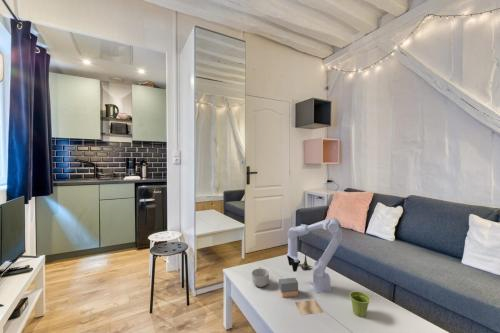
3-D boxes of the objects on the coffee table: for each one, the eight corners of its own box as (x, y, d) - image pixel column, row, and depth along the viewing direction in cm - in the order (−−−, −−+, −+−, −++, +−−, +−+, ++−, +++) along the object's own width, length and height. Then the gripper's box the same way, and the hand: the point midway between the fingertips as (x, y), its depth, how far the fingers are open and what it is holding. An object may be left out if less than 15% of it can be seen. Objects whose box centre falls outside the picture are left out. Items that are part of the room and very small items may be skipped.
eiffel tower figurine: (319, 269, 161) (319, 250, 160) (313, 275, 153) (313, 256, 152) (299, 263, 170) (299, 245, 169) (293, 268, 162) (293, 250, 161)
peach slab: (294, 290, 136) (294, 285, 136) (297, 296, 130) (297, 291, 130) (279, 291, 135) (279, 286, 135) (282, 298, 129) (282, 292, 129)
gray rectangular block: (295, 285, 135) (295, 277, 135) (298, 290, 130) (298, 282, 130) (279, 287, 134) (278, 279, 134) (281, 292, 129) (281, 283, 129)
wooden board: (315, 300, 126) (315, 299, 126) (323, 312, 116) (323, 312, 116) (294, 302, 125) (294, 302, 125) (301, 315, 115) (301, 314, 115)
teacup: (267, 290, 136) (267, 277, 136) (250, 288, 139) (250, 275, 138) (270, 277, 150) (270, 266, 150) (254, 276, 152) (254, 264, 152)
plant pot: (352, 304, 122) (352, 288, 122) (371, 311, 116) (372, 295, 116) (347, 314, 115) (347, 297, 115) (367, 322, 109) (367, 305, 109)
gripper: (283, 243, 148) (283, 263, 149) (290, 252, 134) (290, 274, 135) (293, 242, 149) (293, 262, 150) (301, 251, 135) (301, 273, 136)
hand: (292, 268), depth 143 cm, fingers open, 7 cm apart
